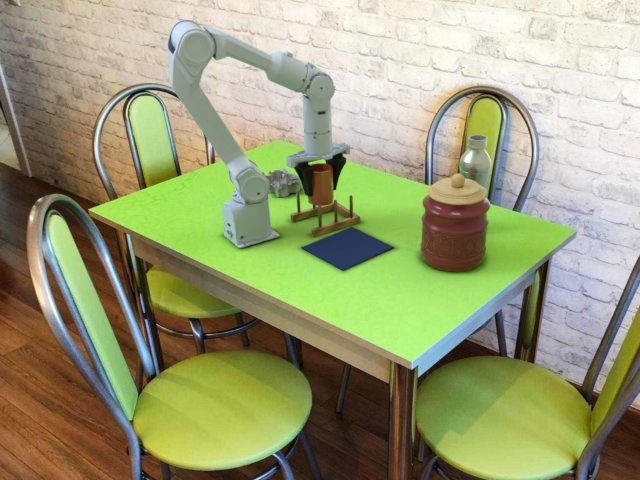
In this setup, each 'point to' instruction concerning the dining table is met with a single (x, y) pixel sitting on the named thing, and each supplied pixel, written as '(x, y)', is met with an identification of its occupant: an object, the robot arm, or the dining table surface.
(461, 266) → the kitchen canister
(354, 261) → the cloth
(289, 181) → the egg carton
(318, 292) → the dining table surface
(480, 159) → the plastic bottle
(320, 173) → the tumbler
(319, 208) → the drying rack
